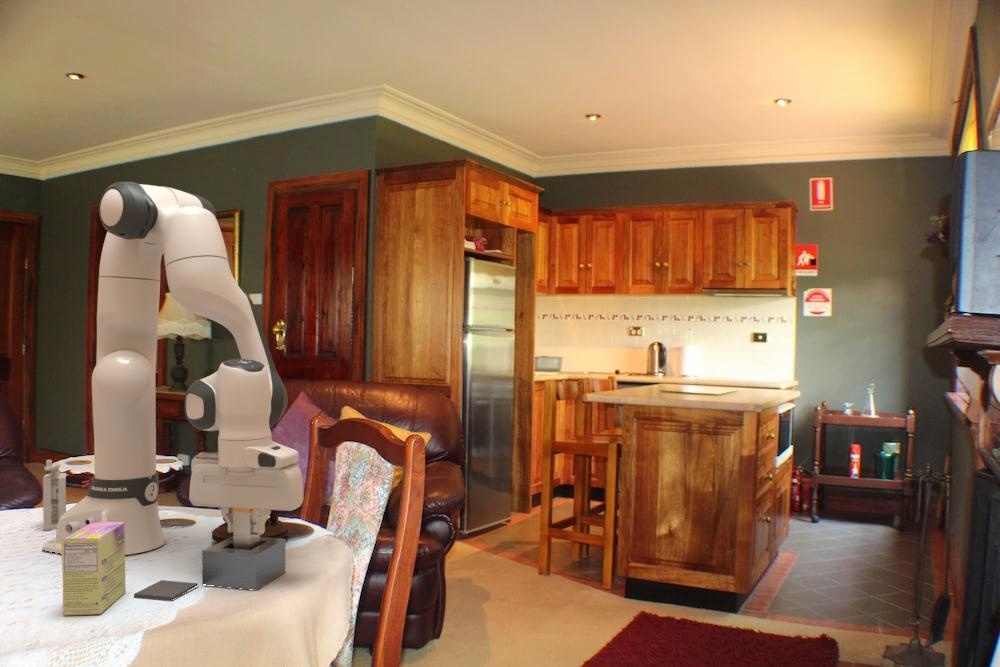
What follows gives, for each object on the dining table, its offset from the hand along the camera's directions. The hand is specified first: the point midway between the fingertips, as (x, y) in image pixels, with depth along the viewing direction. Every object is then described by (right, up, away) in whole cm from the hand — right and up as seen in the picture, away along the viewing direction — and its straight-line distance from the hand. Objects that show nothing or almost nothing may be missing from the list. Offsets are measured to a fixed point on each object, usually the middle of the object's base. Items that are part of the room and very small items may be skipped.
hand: (246, 533), depth 140 cm
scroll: (-7, -8, +24) cm, 26 cm away
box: (-20, -8, -12) cm, 25 cm away
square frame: (0, -8, 0) cm, 8 cm away
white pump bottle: (-53, -8, +36) cm, 64 cm away
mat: (-11, -8, -7) cm, 15 cm away
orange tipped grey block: (0, -5, 0) cm, 5 cm away
